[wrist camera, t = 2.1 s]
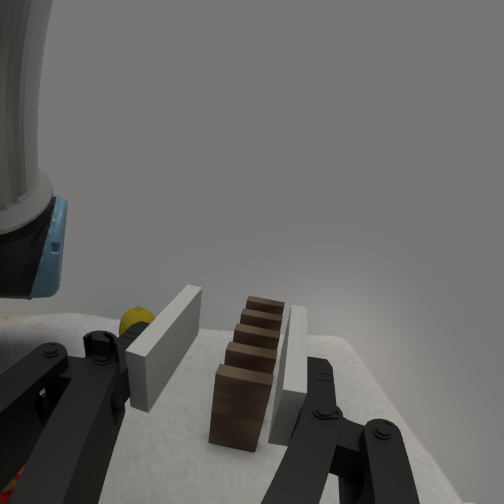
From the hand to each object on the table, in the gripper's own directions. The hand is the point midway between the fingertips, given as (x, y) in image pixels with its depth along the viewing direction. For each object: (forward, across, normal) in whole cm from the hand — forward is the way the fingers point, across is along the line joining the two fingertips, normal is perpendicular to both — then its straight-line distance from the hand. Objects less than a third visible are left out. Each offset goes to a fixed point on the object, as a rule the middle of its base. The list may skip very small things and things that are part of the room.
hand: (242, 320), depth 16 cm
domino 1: (+9, 0, -20) cm, 22 cm away
